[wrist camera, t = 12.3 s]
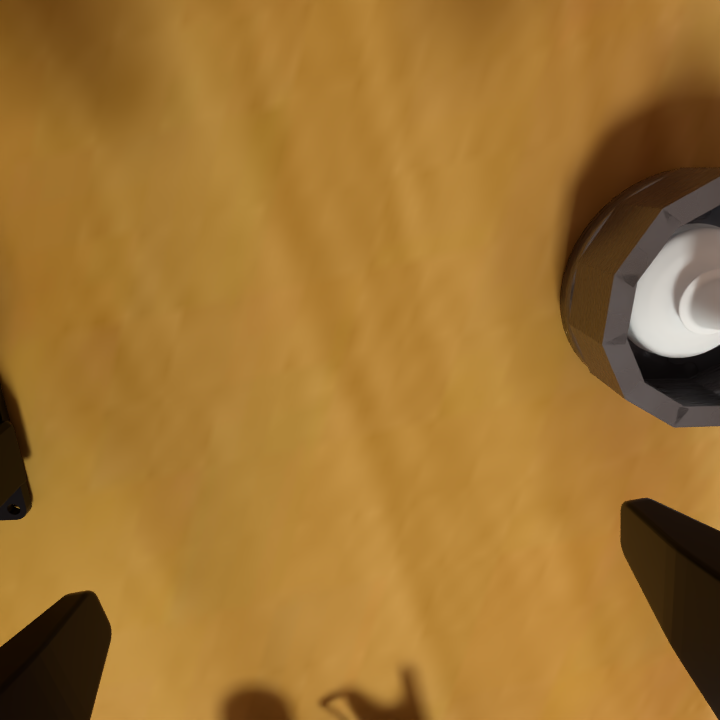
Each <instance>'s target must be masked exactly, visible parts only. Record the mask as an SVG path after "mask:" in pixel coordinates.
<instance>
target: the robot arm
mask: <svg viewBox="0 0 720 720" xmlns="http://www.w3.org/2000/svg"><path fill="white" fill-rule="evenodd" d="M26 479H27V476H26V472H25V469H24V465H23V461H22V457H21V453H20V450H19V446H18V442H17V438H16V434H15V431H14V427H13V425H12V424H11V423H10V419H9V415H8V412H7V408H6V404H5V400H4V397H3V393H2V389H1V385H0V520H18V519H22V518H23V517H25V515H26V514H27V513H28V512H29V511H30V509H31V507H32V503H31V499H30V495H29V491H28V487H27V484H26ZM13 504H14V505H17V506H18V507H19V508H20V509H19V508H16V507H14V505H13ZM621 547H622V551H623V553H624V556H625V558H626V560H627V562H628V564H629V566H630V568H631V570H632V571H633V573H634V575H635V577H636V579H637V581H638V583H639V585H640V587H641V589H642V591H643V593H644V595H645V597H646V599H647V601H648V603H649V605H650V607H651V608H652V610H653V612H654V614H655V616H656V618H657V620H658V622H659V624H660V626H661V628H662V630H663V632H664V634H665V635H666V637H667V639H668V641H669V643H670V645H671V646H672V648H673V650H674V651H675V653H676V654H677V656H678V658H679V659H680V661H681V662H682V664H683V666H684V667H685V669H686V670H687V672H688V673H689V675H690V676H691V678H692V679H693V681H694V683H695V684H696V686H697V687H698V689H699V690H700V692H701V693H702V695H703V696H704V698H705V700H706V701H707V703H708V704H709V706H710V707H711V709H712V710H713V712H714V713H715V715H716V717H717V718H718V720H720V531H719V530H716V529H714V528H712V527H710V526H708V525H706V524H704V523H701V522H699V521H697V520H695V519H693V518H691V517H689V516H686V515H684V514H682V513H680V512H678V511H676V510H674V509H672V508H669V507H667V506H665V505H663V504H661V503H659V502H657V501H654V500H652V499H649V498H641V499H635V500H629V501H625V502H624V503H623V504H622V506H621ZM110 641H111V626H110V623H109V620H108V618H107V616H106V614H105V612H104V610H103V608H102V606H101V603H100V601H99V599H98V597H97V595H96V594H95V593H94V592H93V591H81V592H75V593H70V594H67V595H65V596H64V597H62V598H61V599H60V600H59V601H57V602H56V603H55V604H54V605H52V606H51V607H50V608H49V609H47V610H46V611H45V612H44V613H42V614H41V615H40V616H39V617H37V618H36V619H35V620H34V621H32V622H31V623H30V624H29V625H27V626H26V627H25V628H24V629H22V630H21V631H20V632H19V633H17V634H16V635H15V636H14V637H12V638H11V639H10V640H9V641H8V642H6V643H5V644H4V645H3V646H1V647H0V720H90V718H91V714H92V711H93V707H94V703H95V699H96V695H97V691H98V688H99V684H100V680H101V676H102V672H103V668H104V665H105V661H106V657H107V653H108V649H109V645H110Z"/></svg>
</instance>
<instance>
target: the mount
mask: <svg viewBox="0 0 720 720" xmlns="http://www.w3.org/2000/svg"><path fill="white" fill-rule="evenodd" d="M694 223H702V224H710V225H714V226H717V227H720V168H680V169H677V170H672V171H667V172H663V173H660V174H657V175H654V176H651V177H649V178H646V179H644V180H642V181H640V182H638V183H636V184H634V185H632V186H631V187H629V188H628V189H626V190H625V191H623V192H622V193H620V194H619V195H618V196H616V197H615V198H614V199H613V200H611V201H610V202H609V203H608V204H607V205H606V206H605V207H604V208H603V209H602V210H601V211H600V212H599V213H598V214H597V215H596V216H595V217H594V218H593V219H592V221H591V222H590V223H589V225H588V226H587V227H586V228H585V230H584V231H583V233H582V235H581V236H580V238H579V239H578V241H577V243H576V245H575V247H574V249H573V251H572V253H571V255H570V257H569V260H568V263H567V266H566V269H565V272H564V277H563V282H562V287H561V299H560V305H561V317H562V322H563V327H564V330H565V333H566V336H567V339H568V341H569V343H570V345H571V346H572V348H573V350H574V352H575V353H576V354H577V356H578V357H579V358H580V360H581V361H582V362H583V363H584V364H585V365H586V366H588V368H589V371H590V372H591V373H592V374H593V375H594V376H596V377H597V378H598V379H600V380H601V381H602V382H604V383H605V384H606V385H607V386H609V387H610V388H611V389H613V390H614V391H615V392H616V393H618V394H619V395H620V396H622V397H623V398H624V399H626V400H627V401H629V402H631V403H633V404H634V405H636V406H638V407H640V408H641V409H643V410H645V411H646V412H648V413H650V414H652V415H653V416H655V417H657V418H659V419H660V420H662V421H664V422H666V423H667V424H669V425H671V426H672V427H705V426H720V345H718V346H717V347H715V348H713V349H711V350H709V351H707V352H705V353H702V354H699V355H696V356H691V357H685V358H670V357H664V356H660V355H658V354H655V353H651V352H648V351H645V350H643V349H641V348H640V347H638V346H637V345H635V344H634V343H633V342H632V341H631V340H630V339H629V338H628V337H627V335H628V329H629V324H630V319H631V314H632V308H633V303H634V298H635V292H636V287H637V282H638V280H639V279H640V278H641V276H642V275H643V274H644V272H645V271H646V270H647V268H648V267H649V266H650V264H651V263H652V262H653V260H654V259H655V258H656V256H657V255H658V254H659V252H660V251H661V250H662V248H663V247H664V245H665V244H666V243H667V241H668V240H669V239H670V237H671V236H672V235H673V233H674V232H675V231H676V229H677V228H679V227H681V226H683V225H686V224H694Z"/></svg>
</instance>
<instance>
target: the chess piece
mask: <svg viewBox="0 0 720 720" xmlns="http://www.w3.org/2000/svg"><path fill="white" fill-rule="evenodd" d="M627 337H628V338H629V339H630V340H631V341H632V342H633V343H634V344H635V345H637V346H638V347H640V348H641V349H643V350H645V351H648V352H651V353H655V354H658V355H660V356H664V357H670V358H685V357H691V356H696V355H699V354H702V353H705V352H707V351H709V350H711V349H713V348H715V347H717V346H718V345H720V227H717V226H714V225H710V224H702V223H694V224H686V225H683V226H681V227H679V228H677V229H676V231H675V232H674V233H673V235H672V236H671V237H670V239H669V240H668V241H667V243H666V244H665V245H664V247H663V248H662V250H661V251H660V252H659V254H658V255H657V256H656V258H655V259H654V260H653V262H652V263H651V264H650V266H649V267H648V268H647V270H646V271H645V272H644V274H643V275H642V276H641V278H640V279H639V280H638V282H637V287H636V292H635V298H634V303H633V308H632V314H631V319H630V324H629V329H628V335H627Z"/></svg>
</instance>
